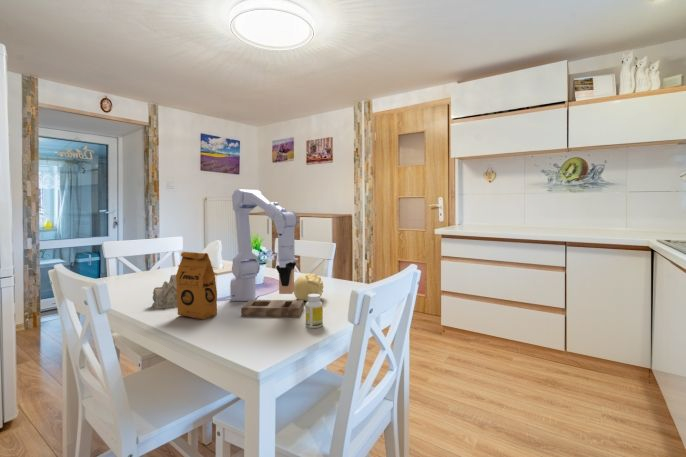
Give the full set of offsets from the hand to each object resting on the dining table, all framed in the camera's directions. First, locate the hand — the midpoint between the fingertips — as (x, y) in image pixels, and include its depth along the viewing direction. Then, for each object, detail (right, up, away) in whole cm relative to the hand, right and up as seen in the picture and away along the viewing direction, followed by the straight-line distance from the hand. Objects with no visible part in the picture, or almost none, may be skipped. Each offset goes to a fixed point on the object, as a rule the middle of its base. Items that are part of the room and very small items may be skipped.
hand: (286, 284), depth 126 cm
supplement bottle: (+11, -11, -13) cm, 20 cm away
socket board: (-5, -10, 0) cm, 11 cm away
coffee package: (-30, -10, -4) cm, 32 cm away
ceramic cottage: (-46, -9, +13) cm, 49 cm away
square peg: (0, -3, 0) cm, 3 cm away
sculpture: (+6, -9, +17) cm, 20 cm away
